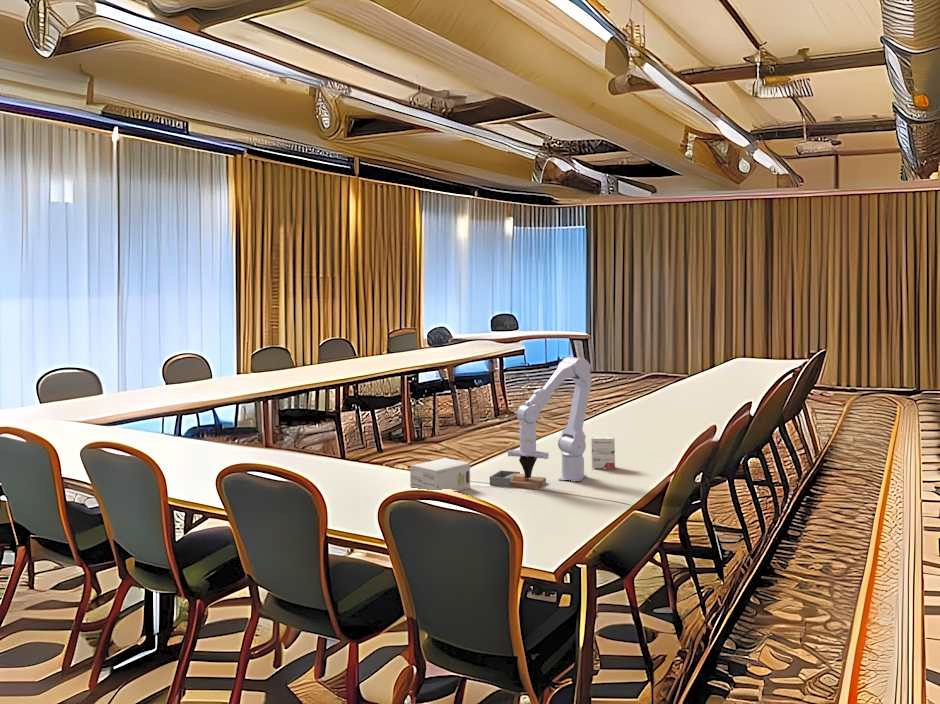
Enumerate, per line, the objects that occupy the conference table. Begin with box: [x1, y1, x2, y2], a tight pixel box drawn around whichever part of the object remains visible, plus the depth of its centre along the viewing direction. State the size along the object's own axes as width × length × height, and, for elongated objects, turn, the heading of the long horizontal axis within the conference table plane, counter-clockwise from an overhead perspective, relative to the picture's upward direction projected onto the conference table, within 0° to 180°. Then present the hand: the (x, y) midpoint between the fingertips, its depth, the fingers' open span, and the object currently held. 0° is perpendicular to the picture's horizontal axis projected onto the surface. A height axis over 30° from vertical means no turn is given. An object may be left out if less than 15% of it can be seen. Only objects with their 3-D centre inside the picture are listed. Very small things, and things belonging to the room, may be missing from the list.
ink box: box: [590, 436, 616, 470], centre depth 325 cm, size 9×5×12 cm, turn 77°
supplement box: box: [409, 457, 471, 492], centre depth 296 cm, size 17×13×9 cm
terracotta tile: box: [513, 473, 528, 481], centre depth 301 cm, size 4×4×2 cm
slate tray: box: [489, 470, 521, 488], centre depth 305 cm, size 10×8×3 cm
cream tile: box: [505, 473, 516, 481], centre depth 303 cm, size 4×4×2 cm
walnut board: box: [509, 476, 547, 490], centre depth 301 cm, size 10×10×2 cm
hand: (528, 477), depth 300 cm, fingers closed
